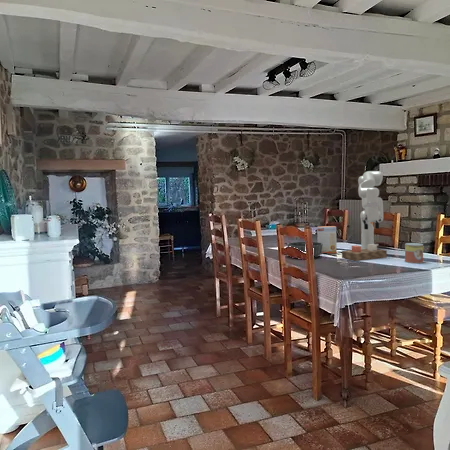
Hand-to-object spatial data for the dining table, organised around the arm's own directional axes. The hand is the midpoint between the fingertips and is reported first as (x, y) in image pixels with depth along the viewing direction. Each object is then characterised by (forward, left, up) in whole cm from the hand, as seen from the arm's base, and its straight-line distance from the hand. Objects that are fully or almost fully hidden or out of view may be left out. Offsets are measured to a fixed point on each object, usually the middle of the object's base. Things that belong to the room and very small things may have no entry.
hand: (371, 228), depth 300 cm
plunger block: (+7, 0, -21) cm, 22 cm away
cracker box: (+18, -30, -21) cm, 40 cm away
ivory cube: (0, 0, -16) cm, 16 cm away
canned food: (-11, +28, -21) cm, 37 cm away
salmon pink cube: (+14, 0, -16) cm, 21 cm away
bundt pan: (+41, -25, -21) cm, 52 cm away
